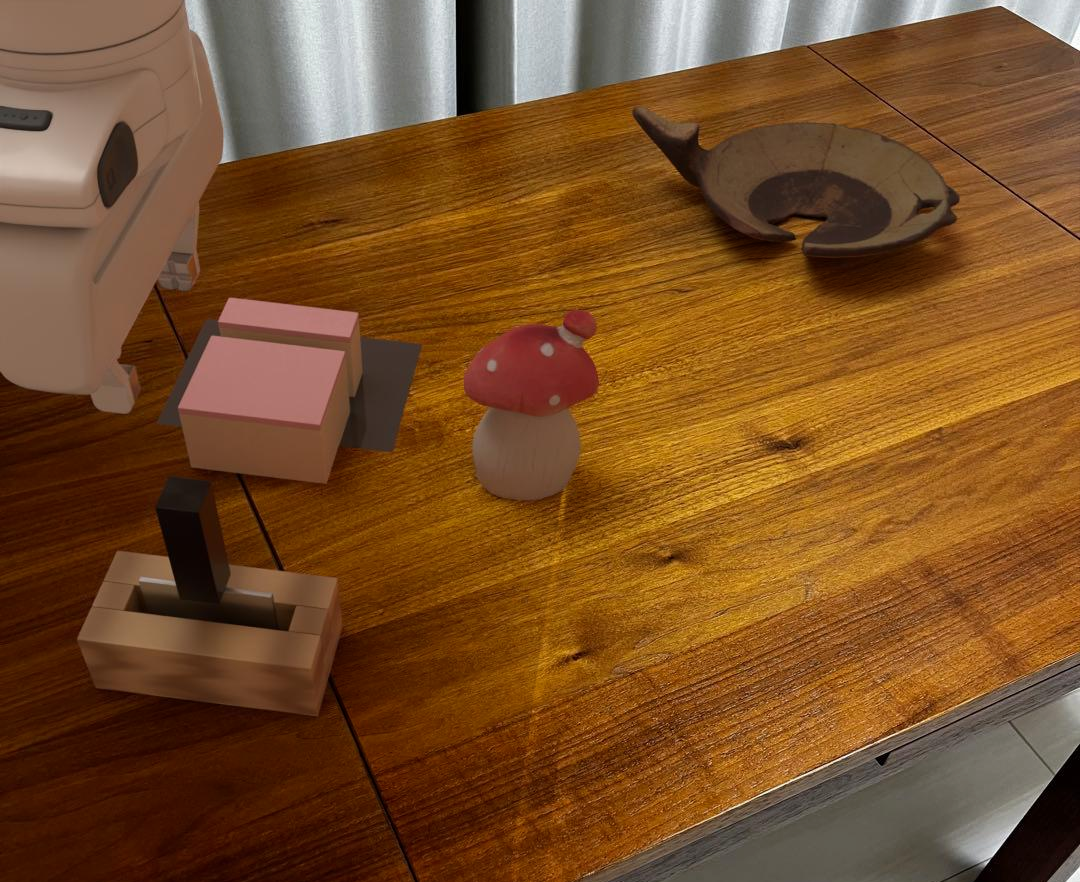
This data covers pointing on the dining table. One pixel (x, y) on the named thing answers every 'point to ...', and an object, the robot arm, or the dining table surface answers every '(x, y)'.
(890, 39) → the dining table surface
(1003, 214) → the dining table surface
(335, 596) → the knife block
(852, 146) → the broken brown bowl
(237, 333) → the cake slice
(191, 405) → the cake
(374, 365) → the cake board
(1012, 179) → the dining table surface
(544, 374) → the decorative ornament
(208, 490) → the knife
